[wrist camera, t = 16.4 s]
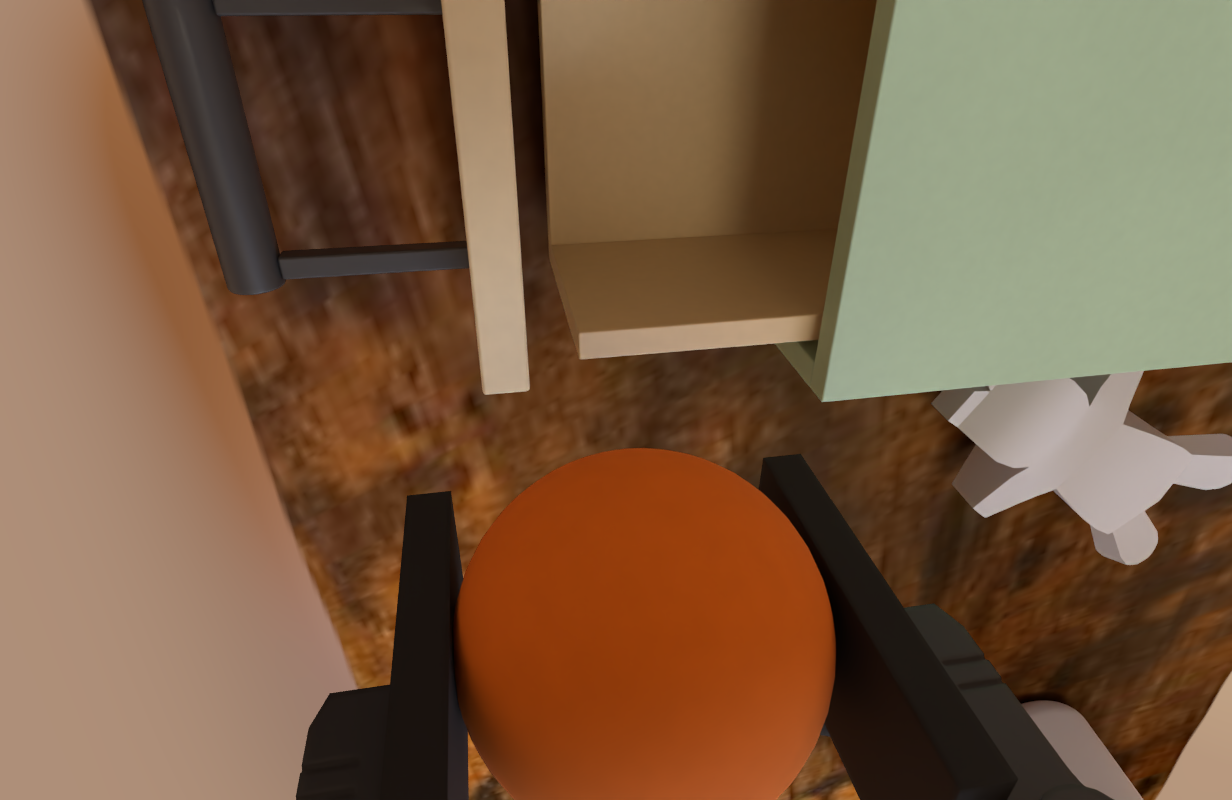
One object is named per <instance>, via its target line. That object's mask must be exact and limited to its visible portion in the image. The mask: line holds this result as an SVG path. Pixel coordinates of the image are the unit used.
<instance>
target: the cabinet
mask: <svg viewBox="0 0 1232 800" xmlns="http://www.w3.org/2000/svg"><path fill="white" fill-rule="evenodd" d="M775 345H776V346H777V347H778V348H779V349H780V351H781V352H782V353H783V354H784V356H785V357H786V358H787V359H788V361H789V362H790V363H791V364H792V366H793V367H794V368H795V369H796V370H797V372H798V373H799V374H800V375H801V377H802V378H803V379H804V380H805V382H806V383H807V384H808V385H809V386H810V387H811V389H812V390H813V392H814V393H815V394H816V395H817V396H818V398H819V399H820V400H821V401H822V402H828V401H838V400H849V399H859V398H869V397H879V396H890V395H900V394H910V393H920V392H931V391H941V390H951V389H961V388H972V387H982V386H992V385H1002V384H1013V383H1023V382H1033V381H1043V380H1054V379H1064V378H1074V377H1084V376H1095V375H1105V374H1115V373H1125V372H1136V371H1146V370H1156V369H1166V368H1177V367H1187V366H1197V365H1207V364H1218V363H1228V362H1232V0H877V3H876V9H875V15H874V21H873V27H872V32H871V38H870V44H869V50H868V56H867V62H866V67H865V73H864V79H863V85H862V91H861V96H860V102H859V108H858V114H857V120H856V125H855V131H854V137H853V143H852V149H851V154H850V160H849V166H848V172H847V178H846V184H845V189H844V195H843V201H842V207H841V213H840V218H839V224H838V230H837V236H836V242H835V247H834V253H833V259H832V265H831V271H830V276H829V282H828V288H827V294H826V300H825V306H824V311H823V317H822V323H821V329H820V335H819V340H809V341H797V342H785V343H775Z"/></svg>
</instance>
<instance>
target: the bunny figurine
mask: <svg viewBox="0 0 1232 800" xmlns="http://www.w3.org/2000/svg"><path fill="white" fill-rule="evenodd" d="M1143 372H1144V371H1136V372H1125V373H1115V374H1105V375H1095V376H1084V377H1074V378H1064V379H1054V380H1043V381H1033V382H1023V383H1013V384H1002V385H992V386H982V387H972V388H961V389H951V390H943V391H942V392H941V393H940V394H939V395H938V396H937V397H936V398H935V400H934V401H933V402H932V403H931V404H932V405H933V406H934V407H935V408H936V409H937V410H938V411H939V412H940V413H941V414H942V415H943V416H944V417H945V418H946V419H947V420H948V421H949V422H951V423H952V424H954V425H955V426H957V427H958V428H959V429H960V430H961V431H962V432H963V433H964V434H966V435H967V436H968V437H969V438H970V439H971V440H972V441H973V442H974V443H975V444H976V445H975V447H974V448H973V450H972V451H971V453H970V455H969V456H968V458H967V460H966V461H965V463H964V465H963V466H962V468H961V469H960V471H959V473H958V474H957V476H956V478H955V479H954V481H953V482H952V485H953V486H954V487H955V488H956V489H957V491H958V492H959V493H960V494H961V495H962V496H963V498H964V499H965V500H966V501H967V502H968V503H969V505H970V506H971V507H972V508H973V509H974V510H976V511H977V512H978V513H980V514H981V515H982V516H983V517H985V518H986V517H988V516H991V515H993V514H995V513H998V512H1000V511H1002V510H1005V509H1007V508H1009V507H1012V506H1014V505H1016V504H1019V503H1021V502H1024V501H1026V500H1028V499H1031V498H1033V497H1035V496H1038V495H1041V494H1044V493H1047V492H1050V491H1052V490H1053V491H1054V492H1055V493H1056V494H1057V495H1058V496H1059V497H1060V498H1061V499H1062V500H1064V501H1065V502H1066V503H1067V504H1068V505H1069V506H1070V507H1071V508H1072V509H1073V510H1074V511H1075V512H1076V513H1077V514H1078V515H1079V516H1081V517H1082V518H1083V519H1084V520H1085V521H1086V522H1087V523H1089V524H1090V526H1091V531H1092V535H1093V539H1094V544H1095V548H1096V550H1097V551H1098V552H1099V553H1100V554H1101V555H1102V556H1104V557H1107V558H1110V559H1112V560H1115V561H1118V562H1120V563H1123V564H1126V565H1133V564H1139V563H1140V562H1142V561H1143V560H1145V559H1146V558H1148V557H1149V556H1150V555H1151V553H1152V552H1153V551H1154V549H1155V547H1156V545H1157V543H1158V532H1157V530H1156V529H1155V527H1154V525H1153V524H1152V522H1151V521H1150V519H1149V517H1148V516H1147V514H1146V513H1145V510H1146V509H1148V508H1149V507H1151V506H1152V505H1154V504H1155V503H1157V502H1158V501H1159V500H1160V499H1161V498H1162V497H1163V495H1164V494H1165V493H1166V492H1167V490H1168V489H1169V488H1170V487H1171V485H1172V484H1178V485H1183V486H1188V487H1193V488H1198V489H1203V490H1209V489H1218V488H1221V487H1224V486H1226V485H1229V484H1231V483H1232V437H1230V436H1228V435H1226V434H1207V435H1184V436H1166V435H1164V434H1163V433H1161V432H1160V431H1158V430H1157V429H1155V428H1154V427H1152V426H1151V425H1149V424H1148V423H1146V422H1145V421H1143V420H1142V419H1140V418H1139V417H1137V416H1136V415H1135V414H1133V413H1132V412H1130V411H1129V410H1128V409H1129V406H1130V403H1131V400H1132V398H1133V396H1134V393H1135V391H1136V388H1137V386H1138V384H1139V381H1140V379H1141V377H1142V374H1143Z"/></svg>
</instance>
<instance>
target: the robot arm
mask: <svg viewBox="0 0 1232 800" xmlns="http://www.w3.org/2000/svg"><path fill="white" fill-rule="evenodd" d="M759 490H760V491H761V492H762V493H763V494H764V495H765V496H766V497H768V498H769V499H770V500H771V501H772V502H773V503H774V504H775V505H776V506H777V507H778V508H779V509H780V510H781V511H782V512H783V514H784V515H785V516H786V517H787V518H788V519H789V520H790V522H791V523H792V525H793V526H794V527H795V529H796V530H797V532H798V533H799V535H800V536H801V537H802V539H803V540H804V542H805V543H806V545H807V546H808V548H809V550H810V552H811V554H812V557H813V559H814V561H815V563H816V565H817V567H818V570H819V572H820V574H821V576H822V578H823V581H824V584H825V587H826V591H827V594H828V598H829V601H830V605H831V610H832V614H833V620H834V628H835V637H836V667H835V680H834V685H833V691H832V696H831V701H830V705H829V710H828V714H827V717H826V719H825V722H824V724H825V726H826V728H827V730H828V732H829V734H830V736H831V739H832V741H833V743H834V745H835V747H836V749H837V751H838V753H839V756H840V758H841V760H842V762H843V764H844V766H845V768H846V770H847V773H848V775H849V777H850V779H851V781H852V783H853V785H854V788H855V790H856V792H857V794H858V796H859V798H860V800H1114V799H1112V798H1110V797H1109V796H1107V795H1105V794H1104V793H1102V792H1100V791H1098V790H1096V789H1093V788H1089V787H1086V786H1084V785H1083V784H1082V783H1081V782H1080V781H1079V780H1078V779H1077V777H1076V776H1075V775H1074V774H1073V773H1072V772H1071V771H1070V769H1069V768H1068V767H1067V766H1066V764H1065V763H1064V762H1063V760H1062V759H1061V757H1060V756H1059V755H1058V753H1057V752H1056V751H1055V749H1054V748H1053V747H1052V745H1051V744H1050V743H1049V741H1048V740H1047V739H1046V737H1045V736H1044V735H1043V733H1042V732H1041V730H1040V729H1039V728H1038V726H1037V725H1036V724H1035V722H1034V721H1033V720H1032V718H1031V717H1030V716H1029V714H1028V713H1027V712H1026V710H1025V709H1024V707H1023V706H1022V705H1021V703H1020V702H1019V701H1018V699H1017V698H1016V697H1015V695H1014V694H1013V693H1012V691H1011V690H1010V689H1009V687H1008V686H1007V685H1006V683H1005V684H1003V683H1002V681H1001V676H1000V675H999V674H998V672H997V671H996V670H995V668H994V667H993V666H992V664H991V663H990V662H989V660H985V658H984V653H983V652H982V651H981V649H980V648H979V647H978V645H977V644H976V643H975V641H974V640H973V639H972V637H971V636H970V635H969V633H968V632H967V630H966V629H965V628H964V626H962V625H961V624H960V623H959V622H957V621H956V620H955V619H953V618H952V617H951V616H949V615H948V614H947V613H946V612H944V611H943V610H942V609H940V608H939V607H938V606H937V605H935V604H927V605H920V606H913V607H907V608H903V606H902V605H901V603H900V602H899V600H898V599H897V597H896V596H895V594H894V593H893V591H892V590H891V588H890V587H889V585H888V584H887V582H886V581H885V579H884V578H883V576H882V575H881V573H880V572H879V570H878V569H877V567H876V566H875V564H874V563H873V561H872V560H871V558H870V557H869V555H868V554H867V552H866V551H865V549H864V548H863V546H862V545H861V543H860V542H859V540H858V539H857V537H856V536H855V534H854V533H853V531H852V530H851V529H850V527H849V526H848V524H847V523H846V521H845V520H844V518H843V517H842V515H841V514H840V512H839V511H838V509H837V508H836V506H835V505H834V503H833V502H832V500H831V499H830V497H829V496H828V494H827V493H826V491H825V490H824V488H823V487H822V485H821V484H820V482H819V481H818V479H817V478H816V476H815V475H814V473H813V472H812V470H811V469H810V467H809V466H808V464H807V463H806V461H805V460H804V458H803V457H802V455H801V454H796V455H787V456H777V457H768V458H763V465H762V471H761V478H760V485H759ZM462 581H463V574H462V567H461V560H460V553H459V546H458V539H457V532H456V525H455V518H454V511H453V504H452V497H451V491H447V492H438V493H428V494H419V495H409V496H407V504H406V515H405V526H404V537H403V549H402V560H401V571H400V582H399V593H398V604H397V615H396V626H395V637H394V649H393V660H392V671H391V682H390V685H384V686H377V687H371V688H364V689H357V690H350V691H343V692H336V693H330V694H329V696H328V698H327V699H326V701H325V702H324V704H323V706H322V707H321V709H320V711H319V712H318V714H317V715H316V717H315V719H314V720H313V722H312V724H311V725H310V727H309V730H308V735H307V741H306V746H305V751H304V756H303V762H302V773H300V777H299V783H298V788H297V794H296V800H469V797H468V730H467V727H466V725H465V723H464V720H463V717H462V714H461V710H460V707H459V703H458V697H457V689H456V680H455V669H454V651H453V622H454V612H455V605H456V602H457V598H458V594H459V591H460V587H461V584H462Z"/></svg>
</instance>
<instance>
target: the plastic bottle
mask: <svg viewBox="0 0 1232 800" xmlns="http://www.w3.org/2000/svg"><path fill="white" fill-rule="evenodd" d="M1021 705H1022V706H1023V707H1024V709H1025V710H1026V712H1027V713H1028V714H1029V716H1030V717H1031V718H1032V720H1033V721H1034V722H1035V724H1036V725H1037V726H1038V728H1039V729H1040V730H1041V732H1042V733H1043V735H1044V736H1045V737H1046V739H1047V740H1048V741H1049V743H1050V744H1051V745H1052V747H1053V748H1054V749H1055V751H1056V752H1057V753H1058V755H1059V756H1060V757H1061V759H1062V760H1063V762H1064V763H1065V764H1066V766H1067V767H1068V768H1069V769H1070V771H1071V772H1072V773H1073V774H1074V775H1075V776H1076V777H1077V779H1078V780H1079V781H1080V782H1081V783H1082V784H1083V785H1084V786H1086V787H1089V788H1093V789H1096V790H1098V791H1100V792H1102V793H1104V794H1105V795H1107V796H1109V797H1110V798H1112V799H1114V800H1143V799H1142V797H1141V796H1140V794H1139V793H1138V792H1137V790H1136V789H1135V787H1134V786H1133V785H1132V783H1131V782H1130V780H1129V779H1128V778H1127V776H1126V775H1125V774H1124V772H1123V771H1122V769H1121V768H1120V767H1119V765H1118V764H1117V762H1116V761H1115V760H1114V758H1113V757H1112V756H1111V754H1110V753H1109V751H1108V750H1107V749H1106V747H1105V746H1104V744H1103V743H1102V742H1101V740H1100V739H1099V738H1098V736H1097V735H1096V733H1095V732H1094V731H1093V729H1092V728H1091V726H1090V725H1089V724H1088V722H1087V721H1086V720H1085V718H1084V717H1083V716H1082V715H1081V714H1080V713H1079V712H1077V711H1076V710H1075V709H1073V708H1071V707H1070V706H1068V705H1066V704H1063V703H1059V702H1055V701H1046V700H1040V701H1032V702H1027V703H1023V704H1021Z"/></svg>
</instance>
